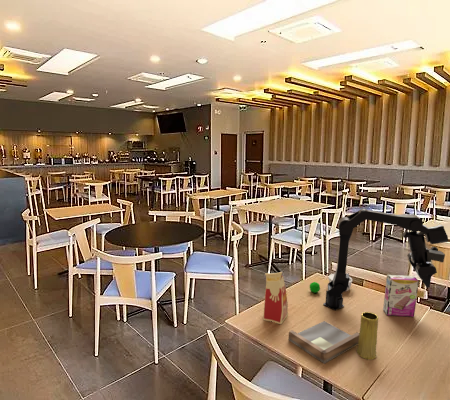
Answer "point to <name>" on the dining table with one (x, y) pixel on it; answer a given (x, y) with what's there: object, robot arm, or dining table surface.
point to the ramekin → (348, 283)
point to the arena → (324, 341)
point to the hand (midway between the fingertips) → (424, 282)
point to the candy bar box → (400, 295)
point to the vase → (368, 336)
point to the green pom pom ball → (314, 287)
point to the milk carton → (275, 298)
